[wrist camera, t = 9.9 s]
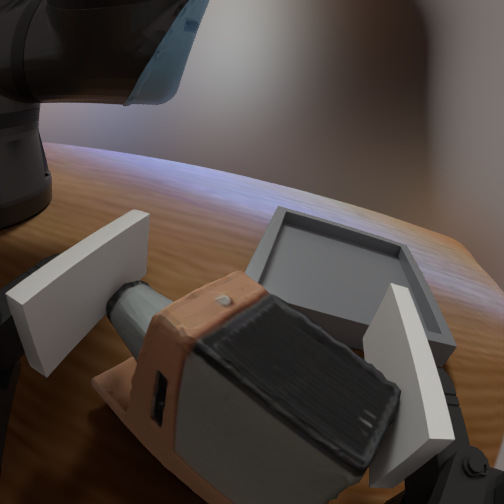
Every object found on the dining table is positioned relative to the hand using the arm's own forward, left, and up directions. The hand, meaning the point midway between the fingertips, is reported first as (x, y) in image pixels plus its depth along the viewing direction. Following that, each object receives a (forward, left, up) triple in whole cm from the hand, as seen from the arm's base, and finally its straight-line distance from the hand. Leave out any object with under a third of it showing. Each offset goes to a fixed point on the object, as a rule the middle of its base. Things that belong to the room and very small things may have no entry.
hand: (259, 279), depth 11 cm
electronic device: (0, -4, -6) cm, 7 cm away
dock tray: (+6, +14, -6) cm, 16 cm away
